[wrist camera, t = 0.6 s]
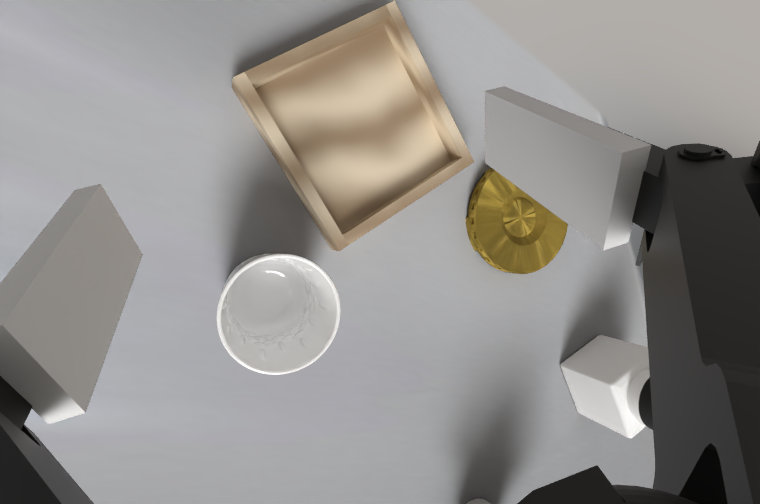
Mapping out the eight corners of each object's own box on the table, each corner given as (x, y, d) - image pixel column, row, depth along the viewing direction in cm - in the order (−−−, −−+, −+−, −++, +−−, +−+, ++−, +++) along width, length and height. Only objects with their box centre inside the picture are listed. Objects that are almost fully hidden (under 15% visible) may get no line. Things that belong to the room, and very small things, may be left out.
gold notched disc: (531, 288, 47) (545, 290, 45) (447, 245, 43) (459, 246, 41) (566, 192, 48) (582, 191, 46) (489, 142, 44) (502, 138, 42)
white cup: (327, 286, 38) (363, 304, 29) (270, 355, 37) (288, 398, 27) (260, 229, 36) (275, 228, 27) (196, 300, 34) (187, 327, 25)
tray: (231, 87, 34) (232, 77, 32) (384, 14, 39) (394, 0, 37) (331, 249, 38) (339, 251, 36) (460, 165, 43) (474, 162, 40)
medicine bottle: (576, 413, 50) (679, 465, 39) (558, 363, 49) (659, 403, 38) (616, 381, 52) (724, 421, 41) (599, 332, 51) (706, 361, 40)
